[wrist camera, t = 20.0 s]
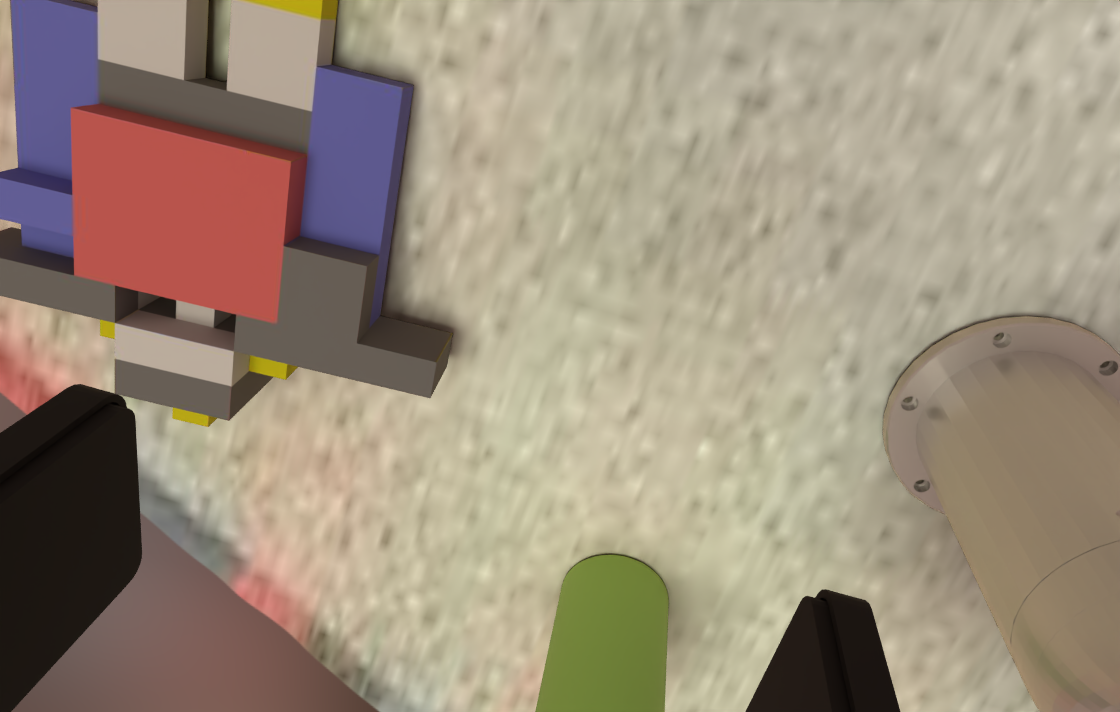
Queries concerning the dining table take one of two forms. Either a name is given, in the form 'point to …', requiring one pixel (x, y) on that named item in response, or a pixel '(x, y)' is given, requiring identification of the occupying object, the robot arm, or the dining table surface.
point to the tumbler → (608, 640)
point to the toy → (209, 198)
